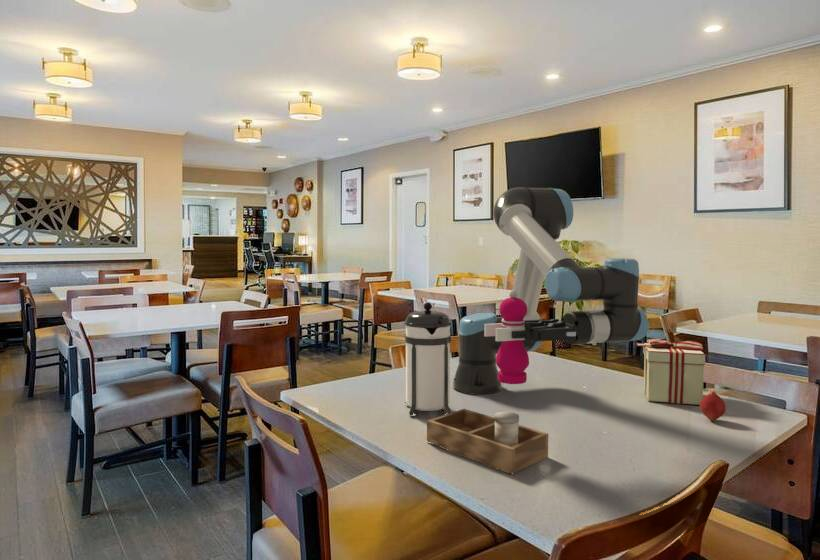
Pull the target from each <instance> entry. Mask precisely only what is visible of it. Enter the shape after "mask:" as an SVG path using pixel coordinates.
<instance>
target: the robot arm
mask: <svg viewBox="0 0 820 560" xmlns="http://www.w3.org/2000/svg"><path fill="white" fill-rule="evenodd" d="M492 211H493V220H494V223H495V225H496V226H497V227H498V229H499V231H501V232H502V234H503V235H505V236H508V237H511V239H512V240H513V241H514V242H515V243H516V244H517V245H518V247H519V248H520V252H519V257H518V260H517V262H518V263H517V266H516V272H515V274H514V275H515V276H514V281H513V284H512V290H511V291H516V292H517V293H518V296H517V297H516V298H519V299H521V300H523V301H524V302H525V303H526V305H527V314H526V316H525V317H524V318H523V320H524V321H525V322H524V325H525V326H524V327H510V328H503V326H502V325H501V324H502V321H501V320H502V319H503V317H502V316H499V317H497V315H496V314H495V313H493V312H483V313H482V312H478V313H473V314H468V315H466V316H463V317H462V318H461V319H460V320H459V326H458V327H459V328H458V365H457V368H456V372H455V376H454V378H453V387H454V388H455V389H457V390H459V391H458V392H460V391H462V392H461V393H463V392H465V394H469V393H473V394H472V395H491V394H495V392H496V393H498V392H501V390H502V382H500V381H498V372H499V369H498V366H497V364H496V356H497V352H498V350H499V348H500V346H501V344H502V341H513V340H523V344H524V346H525V349H526V351H527V353H528V352H529V353H530V352H533V351H536V350H538V348H539V347H540V346H541V344H542V342H550V341H564V342H566V343H567V344H569V345H574V346H575V345H576V346H577V345H585V344H591V345H592V346H597V343H599V344H600V343H617V342H618V343H620V342H621V343H622V342H625V343H627V342H633V341H638V340H639V341H640V340H641V339H643V338H645V337H646V335H648V332H649V329H650V321H649V320H648V315H647V313H646V312H645V311H644V310H642V309H640V308H639V306H638V305H639V304H638V301H639V300H638V299H639V297H638V296H639V284H640V281H639V280H640V266H639V261H637V260H636V259H635V258H625V257H624V258H623V257H622V258H621V257H620V258H619V257H618V258H617V257H616V258H614V257H613V258H606V259H605V260H604V265H603V266H596V267H595V266H591V267H590V266H589V267H586V266H585V267H582V266H581V265H580V264H578V262H577V261H575V260H574V258H573V257H572V256H571V255H570V254H569V253H568V252H567V251H566V250H565V248H564V247H562V246H561V245H560V243H558V242H557V240H559V239H560V236H561V231H562V230H565V229H568V228H569V227H570V226H571V225H572V222H573V219H574V205H573V202H572V198H571V197H570V195H569V194H568V193H567V191H565V190H563V189H561V188H552V187H523V186H521V187H519V186H517V187H511V188H509V189H507V190H506V191H503V193H502V194H500V195H499V196H498V198H497V200H496V201H495V204H494V206H493V210H492ZM543 285H544V287H545V289H544V290H546V294H547V296H548V298H549V299H550V300H553V302H566V303H570V302H583V301H584V302H585V301H602V302H603V303H602V304H603V305H602V306H603V310H602V309H595V310H594V309H593V310H583V311H582V310H579V311H567V312H566V313H564V315H563V316H562V318H561V320H560V319H559V318H551V319H547V318H541V317H540V314H539V313H538V311H537V310H538V304H539V302H540V301H539V300H540V296H541V292H542V287H543ZM454 388H453V389H454ZM455 389H454V390H455ZM457 390H456V391H457ZM490 393H491V394H490Z"/></svg>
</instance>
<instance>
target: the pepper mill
mask: <svg viewBox="0 0 820 560" xmlns="http://www.w3.org/2000/svg"><path fill="white" fill-rule="evenodd" d="M517 296H518V293H517V292H516V291H512V290H510V291H509V297H507V298H505V299H503V300H502V301H501V302H500V304H499V307H498V308H499V309H498V310H499V314H500V317H503V319H502V320H501V321H502V324H501V325H502V326H503V328H510V327H524V326H525V325H524V322H525V321H524V320H523V318H524V317H525V316H526V314H527V305H526V303H525V302H524V301H523V300H521V299H519V298H516V297H517ZM529 365H530V357H529V353H528V352H527V351H526V349H525V346H524V344H523V340H513V341H502V344H501V346H500V348H499V350H498V352H497V354H496V366H497V368H498V369H499V370H498V381H500V382H501V384H507V385H508V384H509V385H521V384H524V383H526V382H527V372H526V371H525V370H527V368H528V367H529Z"/></svg>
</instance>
